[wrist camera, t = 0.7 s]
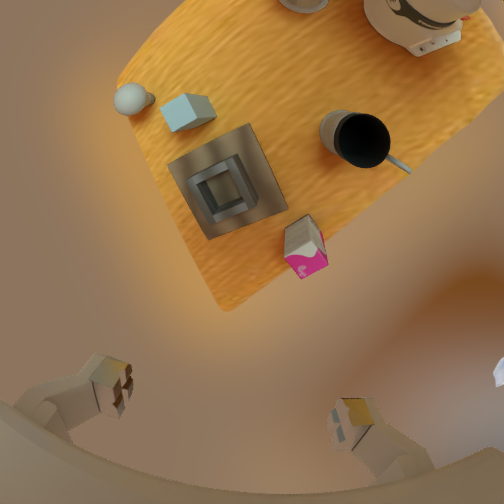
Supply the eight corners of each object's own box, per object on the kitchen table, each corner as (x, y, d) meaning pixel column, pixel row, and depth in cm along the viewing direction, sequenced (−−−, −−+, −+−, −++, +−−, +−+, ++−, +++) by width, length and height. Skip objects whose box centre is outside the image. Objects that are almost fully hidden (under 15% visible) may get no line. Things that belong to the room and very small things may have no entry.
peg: (207, 96, 44) (184, 92, 33) (217, 116, 45) (197, 118, 35) (186, 107, 45) (159, 108, 35) (196, 127, 47) (172, 132, 36)
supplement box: (283, 228, 55) (282, 256, 45) (308, 213, 53) (313, 238, 43) (299, 249, 57) (301, 280, 47) (323, 235, 54) (330, 264, 44)
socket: (249, 123, 45) (244, 124, 40) (288, 207, 52) (288, 219, 47) (168, 164, 51) (155, 170, 46) (209, 238, 58) (201, 251, 53)
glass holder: (331, 101, 41) (349, 96, 28) (395, 139, 43) (432, 152, 30) (311, 142, 46) (321, 153, 33) (375, 177, 47) (405, 202, 34)
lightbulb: (169, 103, 45) (141, 103, 35) (144, 119, 47) (114, 123, 37) (157, 79, 42) (128, 75, 33) (133, 95, 44) (102, 95, 35)
